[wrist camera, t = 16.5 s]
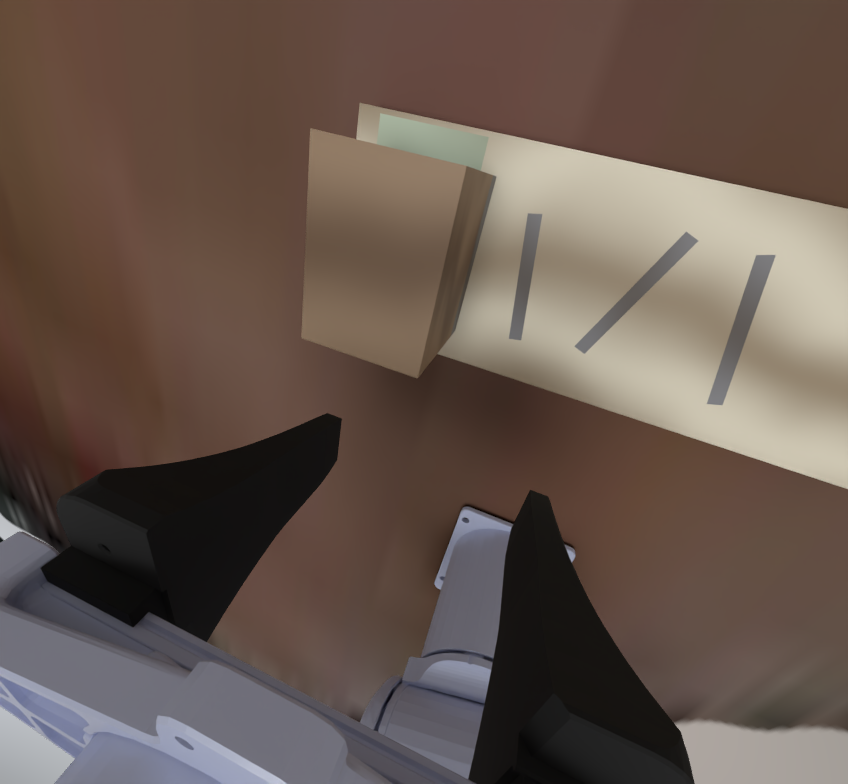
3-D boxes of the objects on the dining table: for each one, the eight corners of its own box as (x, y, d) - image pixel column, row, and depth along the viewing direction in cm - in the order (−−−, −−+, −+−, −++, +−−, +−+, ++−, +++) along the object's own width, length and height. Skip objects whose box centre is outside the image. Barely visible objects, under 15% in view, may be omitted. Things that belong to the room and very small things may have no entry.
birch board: (885, 487, 18) (911, 509, 16) (351, 314, 22) (339, 321, 21) (1132, 276, 13) (1197, 284, 11) (374, 109, 17) (359, 102, 16)
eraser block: (455, 330, 19) (417, 378, 14) (366, 302, 20) (301, 338, 15) (496, 176, 16) (466, 166, 11) (387, 150, 16) (310, 128, 11)
